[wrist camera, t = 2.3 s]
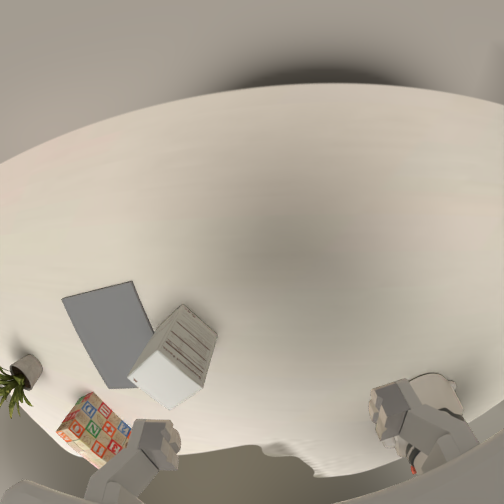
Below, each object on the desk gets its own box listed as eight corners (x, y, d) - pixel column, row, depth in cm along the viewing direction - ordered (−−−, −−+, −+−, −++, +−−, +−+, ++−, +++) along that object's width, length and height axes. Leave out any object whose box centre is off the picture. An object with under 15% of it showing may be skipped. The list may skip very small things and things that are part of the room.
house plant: (22, 322, 46) (-25, 360, 31) (64, 370, 49) (25, 417, 33) (9, 350, 50) (-29, 384, 34) (46, 391, 52) (13, 432, 36)
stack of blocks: (159, 451, 54) (146, 490, 42) (143, 454, 55) (128, 491, 44) (93, 390, 50) (67, 429, 38) (79, 397, 51) (54, 432, 39)
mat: (179, 383, 47) (178, 385, 46) (109, 387, 49) (108, 388, 48) (132, 280, 42) (130, 282, 41) (62, 298, 44) (61, 299, 43)
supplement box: (189, 358, 45) (168, 412, 33) (155, 328, 44) (124, 377, 32) (219, 334, 43) (204, 389, 31) (183, 301, 42) (155, 349, 30)
